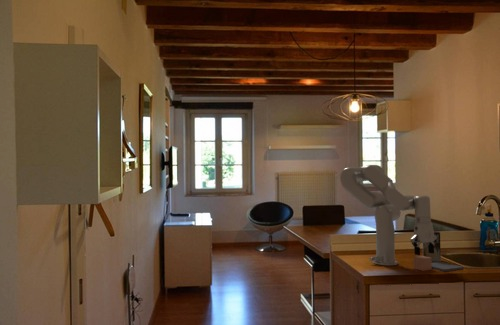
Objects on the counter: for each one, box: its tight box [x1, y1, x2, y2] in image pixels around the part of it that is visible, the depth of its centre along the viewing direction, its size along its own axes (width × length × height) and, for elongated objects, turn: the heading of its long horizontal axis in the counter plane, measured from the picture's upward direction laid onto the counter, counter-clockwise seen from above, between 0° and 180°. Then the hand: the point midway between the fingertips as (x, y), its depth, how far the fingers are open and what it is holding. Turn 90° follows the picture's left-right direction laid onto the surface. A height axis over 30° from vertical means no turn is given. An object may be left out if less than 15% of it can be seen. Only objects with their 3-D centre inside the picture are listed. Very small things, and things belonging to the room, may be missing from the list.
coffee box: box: [422, 230, 442, 263], centre depth 244 cm, size 9×6×16 cm
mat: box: [432, 261, 464, 272], centre depth 227 cm, size 14×14×1 cm
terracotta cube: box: [413, 255, 433, 271], centre depth 223 cm, size 6×6×6 cm
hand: (424, 253), depth 223 cm, fingers open, 9 cm apart
